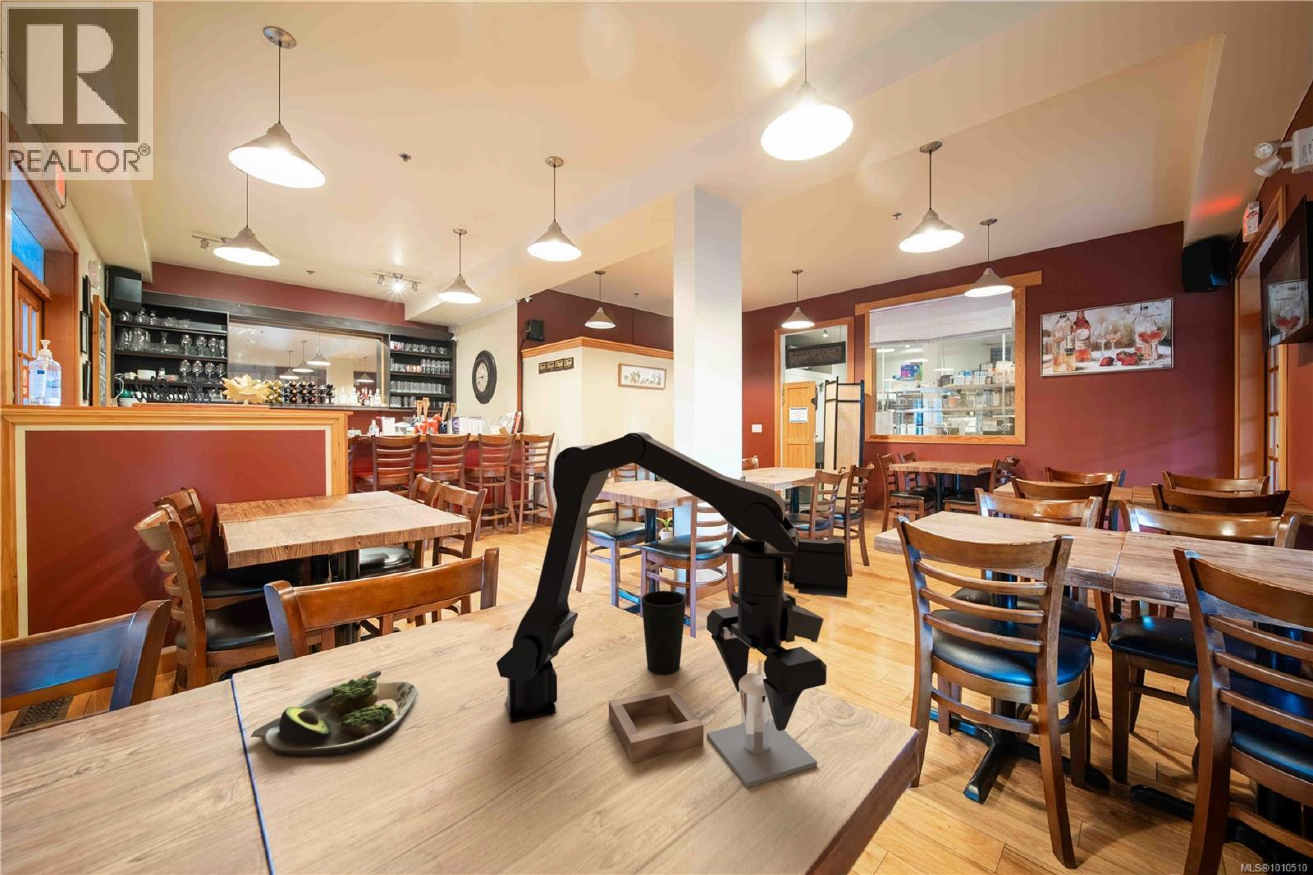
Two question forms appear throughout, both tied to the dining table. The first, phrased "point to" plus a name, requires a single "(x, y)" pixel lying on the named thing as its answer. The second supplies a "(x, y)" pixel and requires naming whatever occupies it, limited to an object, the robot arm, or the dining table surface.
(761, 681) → the milkshake
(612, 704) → the collar
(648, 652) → the cup
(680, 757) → the dining table surface
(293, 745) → the salad plate
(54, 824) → the dining table surface
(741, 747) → the mat
